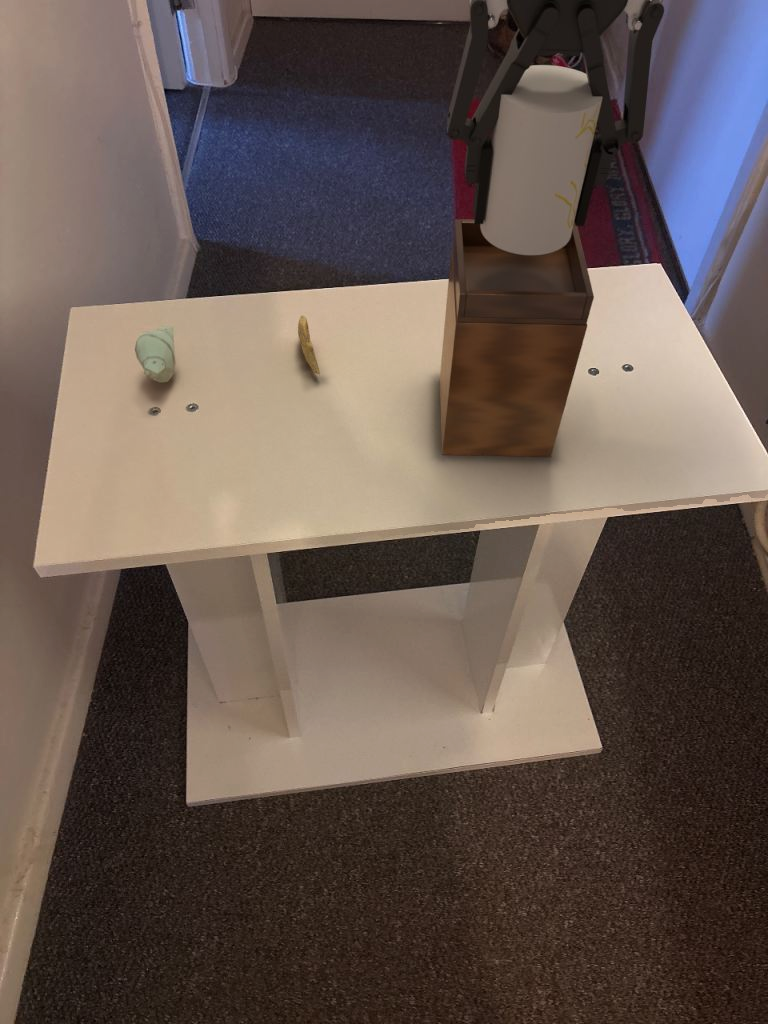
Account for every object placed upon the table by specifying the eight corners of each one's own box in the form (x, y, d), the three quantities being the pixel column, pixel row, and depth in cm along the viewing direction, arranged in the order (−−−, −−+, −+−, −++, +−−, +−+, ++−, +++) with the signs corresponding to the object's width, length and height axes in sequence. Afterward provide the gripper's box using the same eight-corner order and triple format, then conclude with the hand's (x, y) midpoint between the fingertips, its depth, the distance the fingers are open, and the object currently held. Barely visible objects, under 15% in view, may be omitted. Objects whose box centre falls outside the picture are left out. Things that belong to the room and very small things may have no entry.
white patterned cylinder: (570, 259, 65) (604, 117, 55) (476, 250, 66) (494, 108, 56) (571, 208, 70) (602, 69, 60) (484, 200, 70) (500, 61, 61)
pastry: (294, 338, 94) (291, 306, 90) (306, 336, 95) (303, 303, 91) (311, 385, 89) (308, 353, 85) (323, 383, 90) (321, 350, 86)
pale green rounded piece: (172, 404, 87) (159, 359, 82) (138, 402, 87) (122, 357, 82) (187, 357, 92) (175, 312, 87) (154, 356, 92) (140, 311, 87)
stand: (539, 381, 90) (570, 248, 76) (551, 456, 83) (587, 325, 69) (439, 379, 90) (451, 246, 76) (442, 454, 83) (455, 323, 69)
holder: (569, 249, 76) (576, 221, 73) (586, 325, 69) (594, 296, 66) (452, 247, 76) (455, 218, 73) (456, 322, 69) (459, 294, 66)
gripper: (732, -121, 51) (638, 195, 69) (421, -127, 51) (409, 191, 69) (763, -86, 46) (654, 243, 64) (422, -92, 46) (409, 238, 64)
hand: (527, 216), depth 67 cm, fingers closed on white patterned cylinder, 8 cm apart
